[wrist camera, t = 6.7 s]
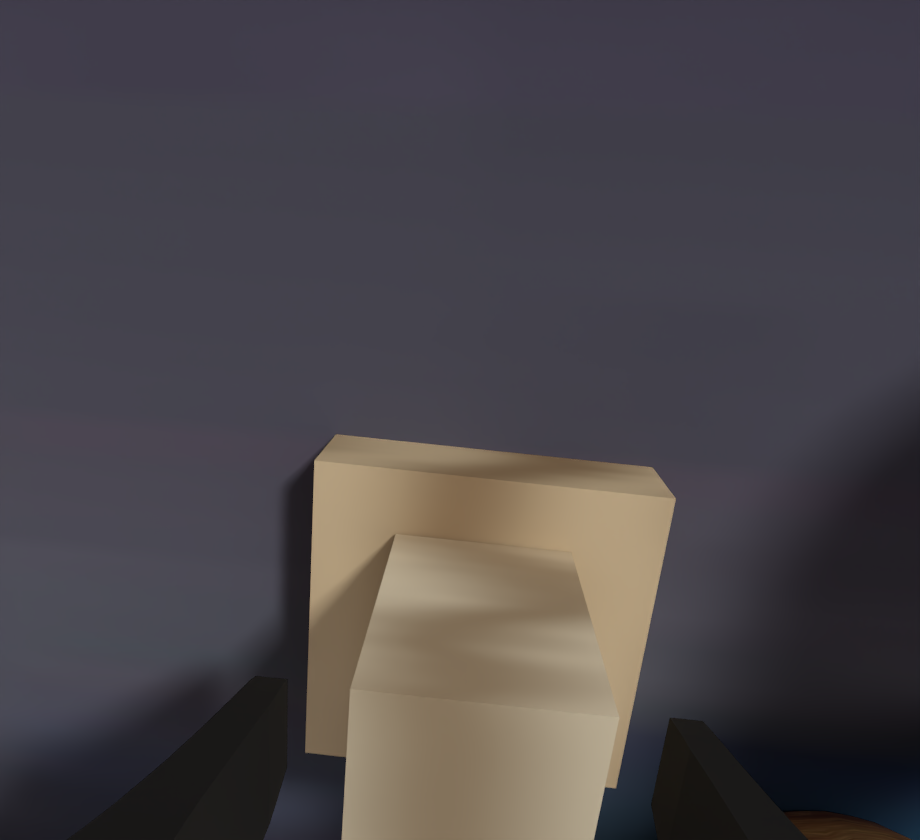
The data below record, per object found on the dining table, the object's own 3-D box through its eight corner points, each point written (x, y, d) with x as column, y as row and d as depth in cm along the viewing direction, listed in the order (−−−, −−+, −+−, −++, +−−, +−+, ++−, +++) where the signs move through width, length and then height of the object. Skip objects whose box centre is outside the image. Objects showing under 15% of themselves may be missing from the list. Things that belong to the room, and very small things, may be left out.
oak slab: (647, 460, 16) (675, 498, 13) (599, 716, 18) (615, 788, 16) (340, 428, 16) (314, 460, 14) (329, 685, 18) (305, 752, 16)
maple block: (571, 552, 14) (619, 718, 9) (547, 698, 15) (578, 914, 10) (396, 533, 14) (349, 689, 9) (384, 681, 15) (338, 889, 10)
